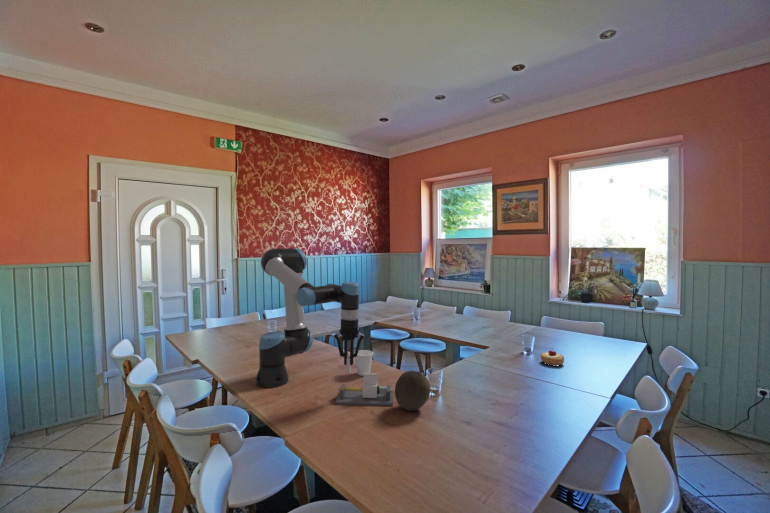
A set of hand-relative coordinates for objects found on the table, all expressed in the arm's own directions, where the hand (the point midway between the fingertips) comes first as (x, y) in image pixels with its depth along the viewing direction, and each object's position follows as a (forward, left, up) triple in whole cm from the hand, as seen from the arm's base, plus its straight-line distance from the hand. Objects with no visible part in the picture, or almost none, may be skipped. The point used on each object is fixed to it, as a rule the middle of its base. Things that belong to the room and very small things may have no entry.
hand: (348, 372), depth 155 cm
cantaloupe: (+28, -8, -12) cm, 31 cm away
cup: (+4, +29, -12) cm, 31 cm away
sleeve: (+10, 0, -10) cm, 14 cm away
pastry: (+108, +51, -12) cm, 120 cm away
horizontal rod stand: (+8, 0, -11) cm, 14 cm away
